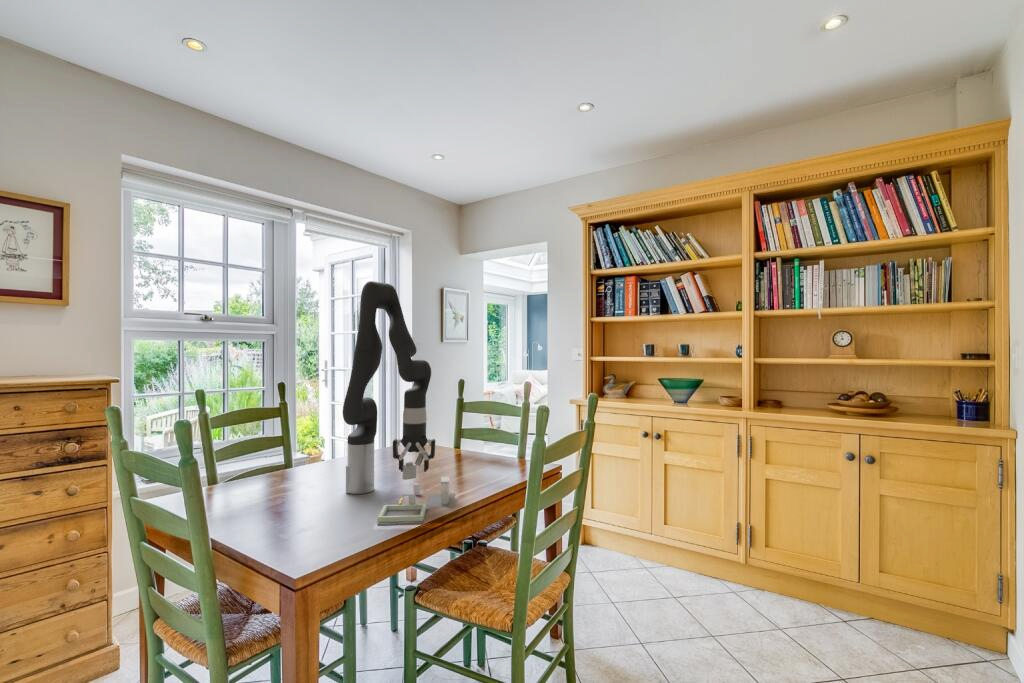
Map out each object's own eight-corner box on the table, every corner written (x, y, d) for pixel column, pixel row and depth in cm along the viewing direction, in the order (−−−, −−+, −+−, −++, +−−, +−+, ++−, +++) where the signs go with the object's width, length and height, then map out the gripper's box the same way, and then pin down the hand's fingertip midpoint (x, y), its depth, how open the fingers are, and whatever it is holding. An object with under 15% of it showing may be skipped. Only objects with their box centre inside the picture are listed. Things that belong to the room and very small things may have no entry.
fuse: (440, 503, 158) (440, 481, 158) (441, 497, 164) (441, 476, 164) (448, 502, 158) (449, 481, 158) (449, 497, 164) (449, 476, 164)
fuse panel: (395, 512, 153) (395, 496, 153) (402, 498, 167) (402, 484, 167) (453, 510, 154) (453, 495, 154) (455, 496, 168) (455, 482, 168)
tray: (377, 526, 141) (377, 517, 141) (384, 513, 152) (384, 505, 152) (422, 524, 142) (422, 516, 142) (426, 511, 153) (426, 503, 153)
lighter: (404, 479, 158) (404, 455, 158) (402, 478, 159) (402, 454, 159) (424, 476, 162) (425, 452, 162) (422, 475, 163) (423, 451, 163)
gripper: (390, 422, 156) (389, 474, 156) (435, 422, 157) (435, 474, 157) (394, 418, 164) (393, 468, 164) (437, 419, 165) (436, 468, 165)
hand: (413, 471), depth 161 cm, fingers closed on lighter, 7 cm apart
